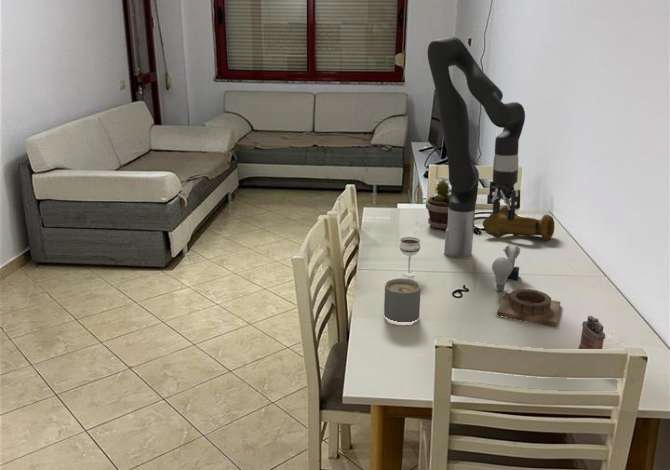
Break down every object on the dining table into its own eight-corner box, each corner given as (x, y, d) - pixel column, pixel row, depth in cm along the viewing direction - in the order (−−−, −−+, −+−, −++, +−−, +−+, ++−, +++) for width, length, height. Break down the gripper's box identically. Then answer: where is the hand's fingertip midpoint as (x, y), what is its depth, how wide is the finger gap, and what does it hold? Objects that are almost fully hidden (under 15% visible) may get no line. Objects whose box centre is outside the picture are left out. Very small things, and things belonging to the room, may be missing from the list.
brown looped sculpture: (502, 207, 245) (556, 207, 231) (500, 238, 245) (554, 241, 231) (483, 203, 231) (539, 203, 217) (481, 236, 230) (537, 239, 217)
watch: (518, 273, 198) (522, 242, 194) (517, 283, 191) (520, 251, 187) (501, 271, 200) (504, 240, 196) (499, 280, 192) (502, 249, 189)
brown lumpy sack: (575, 347, 153) (580, 312, 149) (588, 346, 153) (593, 311, 150) (590, 364, 145) (596, 327, 142) (604, 363, 145) (610, 327, 142)
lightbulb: (510, 295, 182) (514, 262, 178) (490, 294, 183) (493, 260, 179) (509, 287, 187) (512, 255, 184) (489, 285, 189) (492, 253, 185)
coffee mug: (418, 327, 163) (420, 294, 160) (382, 324, 164) (383, 291, 161) (419, 305, 175) (421, 274, 172) (386, 303, 177) (387, 272, 174)
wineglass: (423, 274, 198) (424, 240, 194) (410, 280, 193) (412, 245, 189) (406, 268, 202) (407, 235, 198) (394, 274, 197) (395, 240, 193)
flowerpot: (464, 232, 237) (468, 184, 230) (426, 232, 237) (428, 184, 230) (458, 221, 251) (461, 175, 244) (421, 221, 251) (424, 175, 244)
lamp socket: (496, 316, 169) (497, 302, 167) (504, 296, 181) (505, 283, 179) (555, 327, 163) (557, 312, 161) (559, 306, 175) (561, 292, 173)
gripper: (483, 164, 191) (481, 212, 197) (507, 173, 179) (505, 224, 184) (503, 162, 193) (501, 209, 199) (529, 171, 180) (526, 221, 186)
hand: (503, 216), depth 191 cm, fingers open, 8 cm apart
